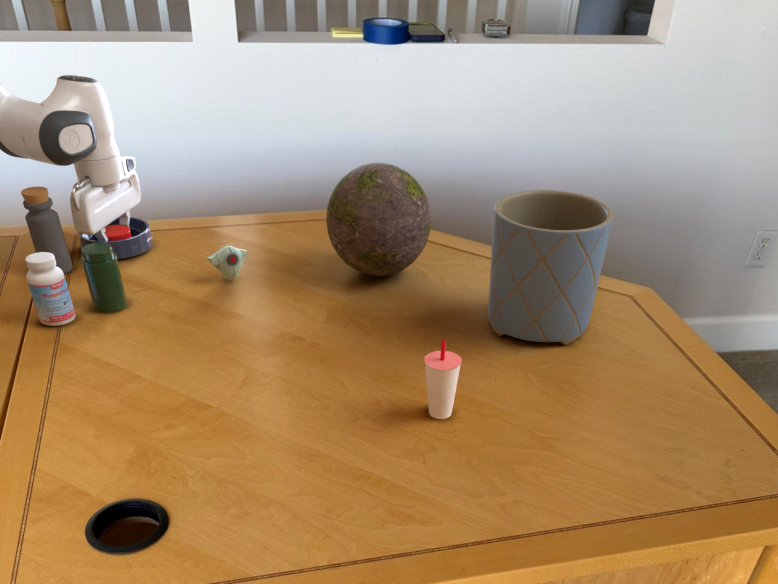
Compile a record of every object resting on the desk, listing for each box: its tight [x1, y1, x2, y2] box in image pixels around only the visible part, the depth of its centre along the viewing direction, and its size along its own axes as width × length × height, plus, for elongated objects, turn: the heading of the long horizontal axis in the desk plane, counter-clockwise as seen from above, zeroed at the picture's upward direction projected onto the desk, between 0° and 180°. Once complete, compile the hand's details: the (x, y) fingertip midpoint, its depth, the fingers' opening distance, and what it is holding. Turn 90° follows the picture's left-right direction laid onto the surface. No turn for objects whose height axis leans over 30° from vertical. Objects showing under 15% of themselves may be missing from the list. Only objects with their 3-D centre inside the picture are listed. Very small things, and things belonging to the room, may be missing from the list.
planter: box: [487, 189, 614, 346], centre depth 131 cm, size 19×19×20 cm
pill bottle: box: [24, 252, 76, 327], centre depth 133 cm, size 6×6×11 cm
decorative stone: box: [325, 162, 432, 277], centre depth 147 cm, size 20×20×20 cm
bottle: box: [20, 186, 74, 274], centre depth 147 cm, size 6×6×15 cm
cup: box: [424, 339, 463, 420], centre depth 112 cm, size 5×5×12 cm
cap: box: [104, 225, 132, 241], centre depth 159 cm, size 6×6×2 cm
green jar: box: [80, 243, 129, 314], centre depth 138 cm, size 6×6×11 cm
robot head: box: [206, 245, 248, 280], centre depth 148 cm, size 8×4×7 cm, turn 121°
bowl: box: [76, 216, 154, 260], centre depth 159 cm, size 14×14×4 cm
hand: (115, 240), depth 160 cm, fingers closed on cap, 6 cm apart
